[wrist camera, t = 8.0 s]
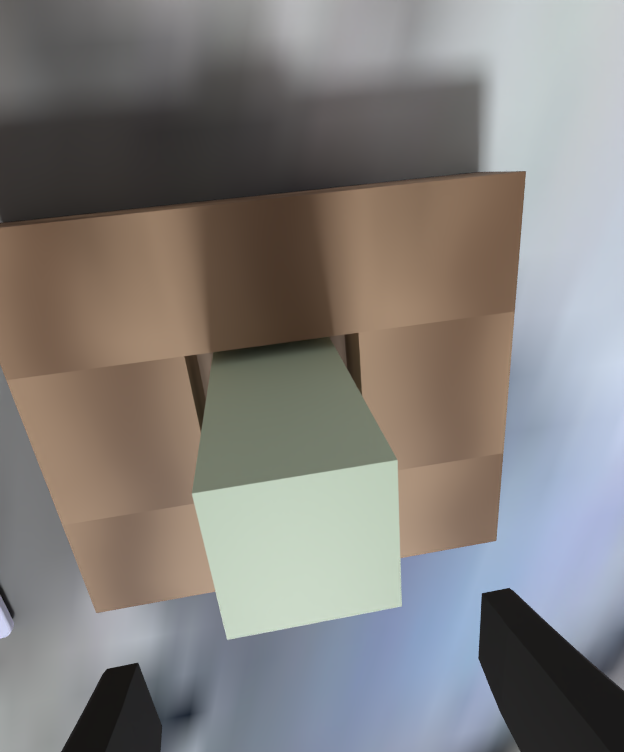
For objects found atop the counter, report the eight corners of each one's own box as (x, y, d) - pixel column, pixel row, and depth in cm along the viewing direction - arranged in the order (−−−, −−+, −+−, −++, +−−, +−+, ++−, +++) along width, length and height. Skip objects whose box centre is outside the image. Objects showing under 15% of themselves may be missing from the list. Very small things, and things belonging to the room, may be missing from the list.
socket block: (115, 555, 21) (96, 612, 18) (2, 223, 15) (-51, 233, 12) (464, 495, 22) (496, 540, 19) (478, 172, 17) (526, 171, 14)
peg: (232, 436, 19) (227, 639, 11) (214, 341, 17) (191, 493, 9) (332, 421, 19) (401, 606, 11) (323, 326, 18) (397, 460, 9)
